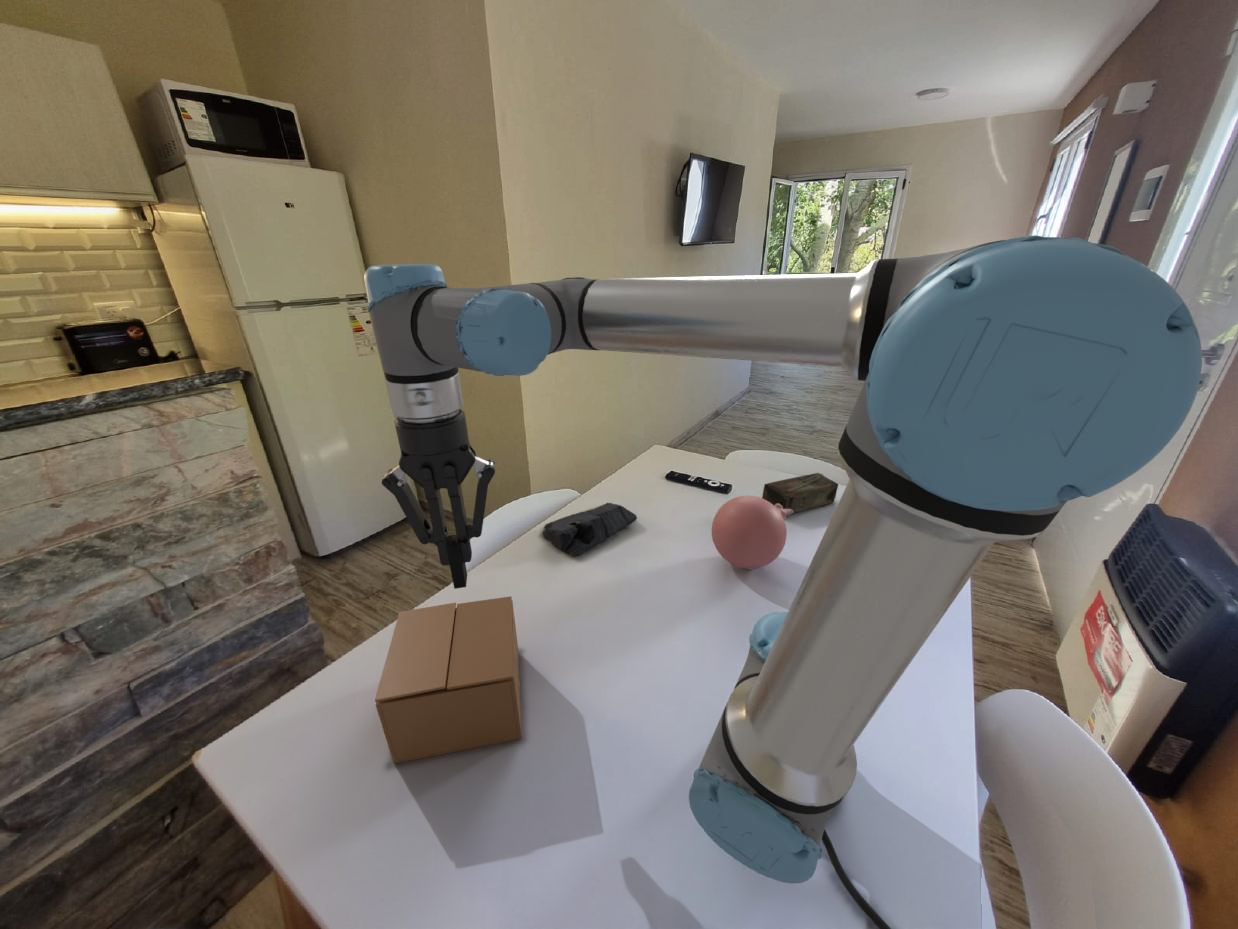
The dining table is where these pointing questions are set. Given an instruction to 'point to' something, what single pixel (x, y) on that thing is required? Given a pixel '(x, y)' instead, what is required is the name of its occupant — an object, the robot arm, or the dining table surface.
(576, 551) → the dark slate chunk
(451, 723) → the box
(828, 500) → the brown wooden block
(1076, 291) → the robot arm
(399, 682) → the flap
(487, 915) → the dining table surface
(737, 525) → the balloon
